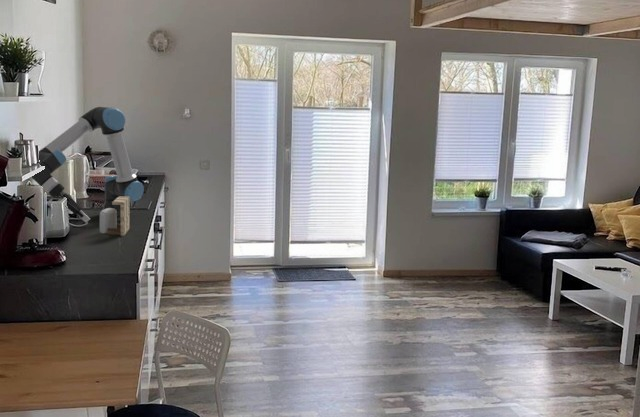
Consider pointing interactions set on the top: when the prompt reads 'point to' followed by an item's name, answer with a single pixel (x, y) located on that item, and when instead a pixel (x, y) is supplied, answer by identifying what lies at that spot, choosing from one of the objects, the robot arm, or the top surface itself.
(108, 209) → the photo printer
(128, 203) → the shelf
